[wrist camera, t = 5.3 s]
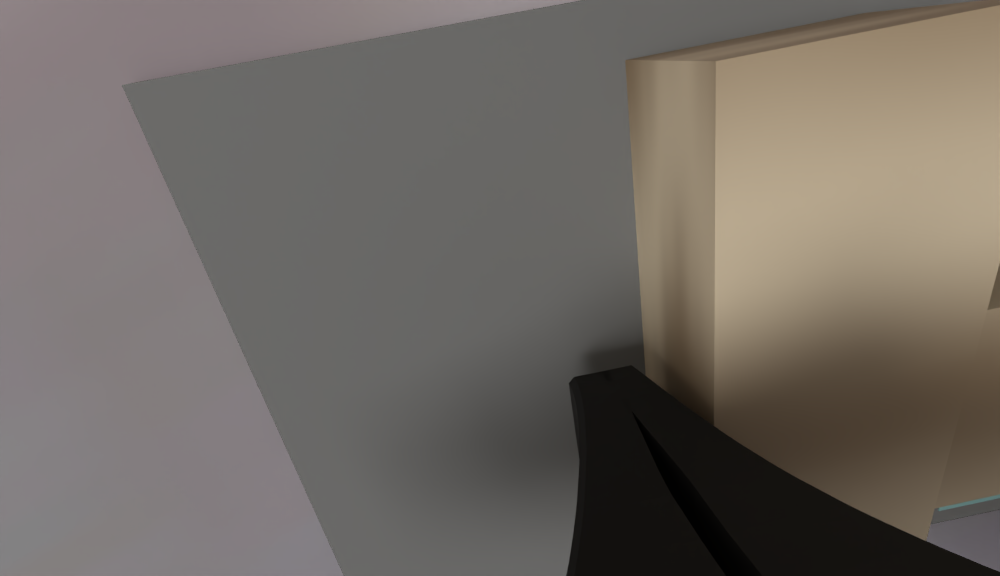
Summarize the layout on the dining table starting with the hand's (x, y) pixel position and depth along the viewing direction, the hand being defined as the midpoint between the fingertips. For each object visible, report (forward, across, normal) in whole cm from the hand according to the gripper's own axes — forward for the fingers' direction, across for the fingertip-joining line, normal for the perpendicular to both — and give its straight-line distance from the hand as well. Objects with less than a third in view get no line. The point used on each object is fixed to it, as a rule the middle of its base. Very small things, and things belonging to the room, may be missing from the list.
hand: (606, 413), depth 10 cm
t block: (+1, -7, 0) cm, 7 cm away
